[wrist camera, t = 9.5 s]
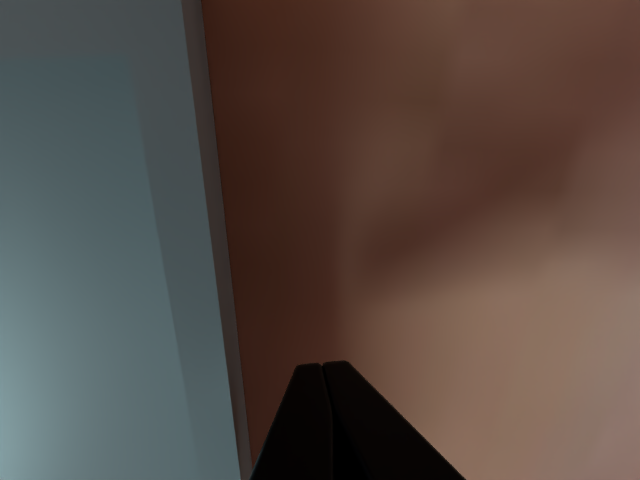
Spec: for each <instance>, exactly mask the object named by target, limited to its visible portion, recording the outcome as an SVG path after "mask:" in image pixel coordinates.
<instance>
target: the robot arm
mask: <svg viewBox="0 0 640 480" xmlns="http://www.w3.org/2000/svg"><path fill="white" fill-rule="evenodd" d="M249 480H466V479H465V478H464V477H463V476H462V475H461V474H460V473H459V472H458V471H457V470H456V469H455V468H454V467H453V466H452V465H451V464H450V463H449V462H448V461H447V460H446V459H445V458H444V457H443V456H442V455H441V454H440V453H439V452H438V451H437V450H436V449H435V448H434V447H433V446H432V445H431V444H430V443H429V442H428V441H427V440H426V439H425V438H424V437H423V436H422V435H421V434H420V433H419V432H418V431H417V430H416V429H415V428H414V427H413V426H412V425H411V424H410V423H409V422H408V421H407V420H406V419H405V418H404V417H403V416H402V415H401V414H400V413H399V412H398V411H397V410H396V409H395V408H394V407H393V406H392V405H391V404H390V403H389V402H388V401H387V400H386V399H385V398H384V397H383V396H382V395H381V394H380V393H379V392H378V391H377V390H376V389H375V388H374V387H373V386H372V385H371V384H370V383H369V382H368V381H367V380H366V379H365V378H364V377H363V376H362V375H361V374H360V373H359V372H358V371H357V370H356V369H355V368H354V367H353V366H352V365H351V364H350V363H349V362H348V361H345V360H342V361H331V362H325V363H323V365H321V364H320V363H309V364H299V365H297V366H296V368H295V370H294V372H293V375H292V377H291V379H290V382H289V384H288V387H287V389H286V391H285V394H284V396H283V398H282V401H281V403H280V406H279V408H278V410H277V413H276V415H275V418H274V420H273V422H272V425H271V427H270V430H269V432H268V434H267V437H266V439H265V442H264V444H263V446H262V449H261V451H260V454H259V456H258V458H257V461H256V463H255V466H254V468H253V470H252V473H251V475H250V478H249Z"/></svg>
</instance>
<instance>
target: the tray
mask: <svg viewBox="0 0 640 480" xmlns="http://www.w3.org/2000/svg"><path fill="white" fill-rule="evenodd" d="M251 473H252V461H251V452H250V443H249V433H248V424H247V415H246V406H245V397H244V388H243V379H242V370H241V361H240V351H239V342H238V333H237V324H236V315H235V306H234V297H233V288H232V279H231V269H230V260H229V251H228V242H227V233H226V224H225V215H224V206H223V197H222V187H221V178H220V169H219V160H218V151H217V142H216V133H215V124H214V114H213V105H212V96H211V87H210V78H209V69H208V60H207V51H206V42H205V32H204V23H203V14H202V5H201V0H0V480H249V478H250V475H251Z"/></svg>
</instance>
